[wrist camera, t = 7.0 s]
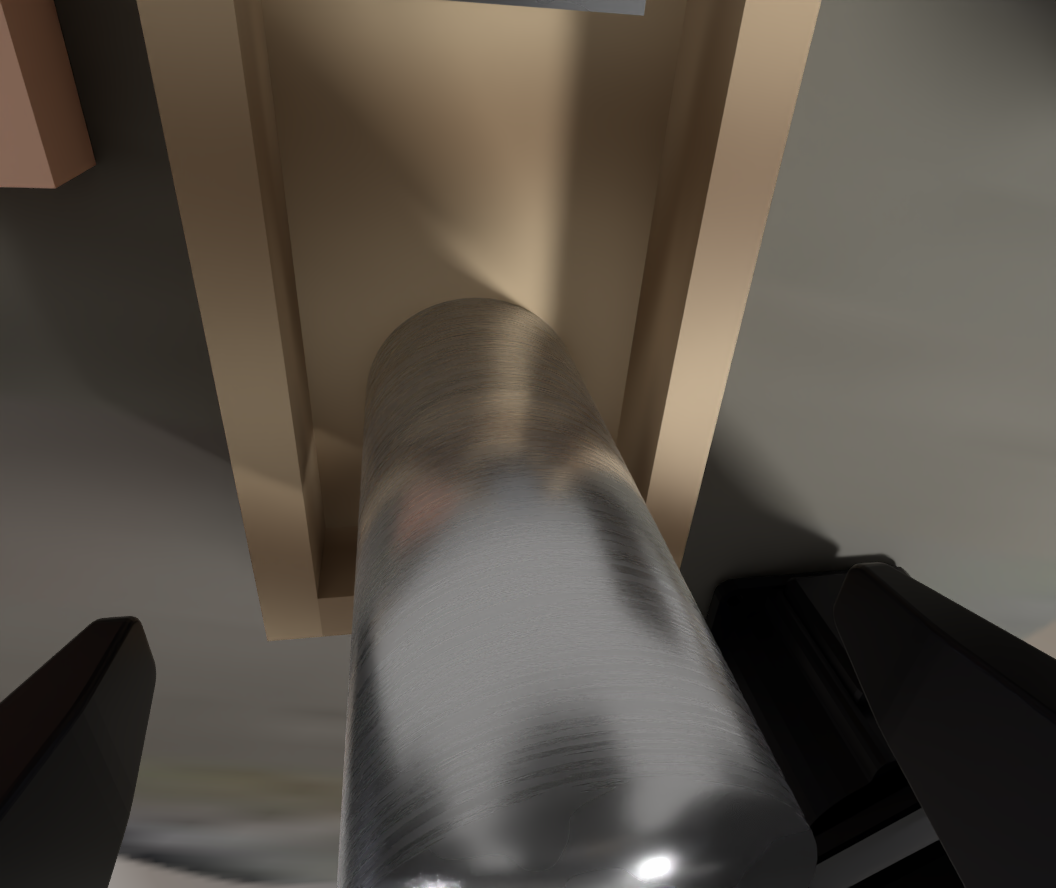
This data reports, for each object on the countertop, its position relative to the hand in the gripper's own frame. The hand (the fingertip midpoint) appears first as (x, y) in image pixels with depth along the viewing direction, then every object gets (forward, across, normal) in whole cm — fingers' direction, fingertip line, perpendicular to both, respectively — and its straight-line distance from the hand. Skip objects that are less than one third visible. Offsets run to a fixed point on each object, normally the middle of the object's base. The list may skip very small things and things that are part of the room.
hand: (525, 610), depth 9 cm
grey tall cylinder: (+5, 0, 0) cm, 5 cm away
